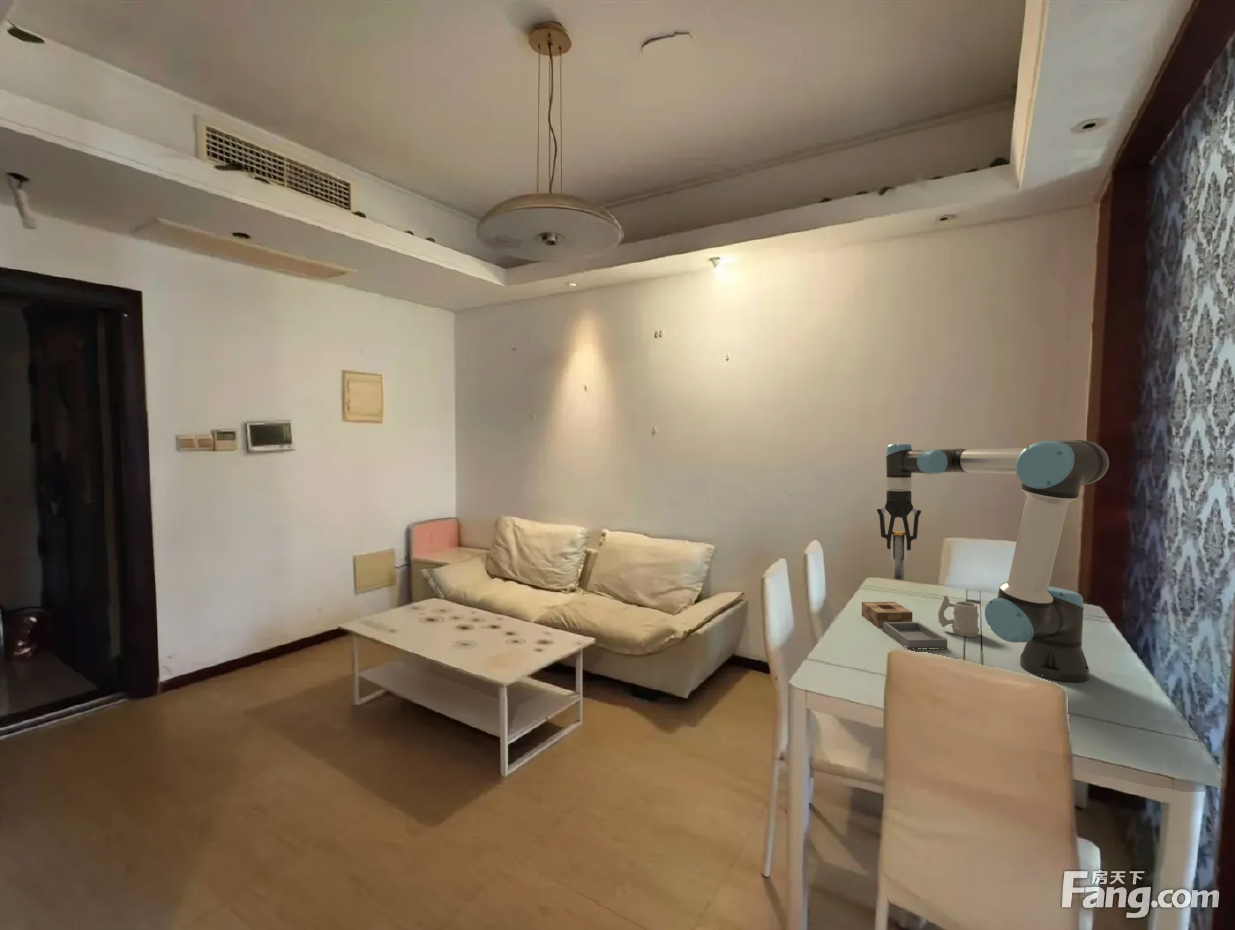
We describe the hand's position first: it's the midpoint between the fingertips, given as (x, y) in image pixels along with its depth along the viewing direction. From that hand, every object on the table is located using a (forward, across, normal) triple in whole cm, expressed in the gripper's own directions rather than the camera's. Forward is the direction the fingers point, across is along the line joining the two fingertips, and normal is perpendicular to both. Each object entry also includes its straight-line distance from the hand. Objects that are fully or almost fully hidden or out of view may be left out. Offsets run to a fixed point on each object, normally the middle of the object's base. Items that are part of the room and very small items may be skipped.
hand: (898, 559), depth 187 cm
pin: (+7, 0, 0) cm, 7 cm away
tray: (+24, -5, +9) cm, 26 cm away
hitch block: (+24, +4, -7) cm, 25 cm away
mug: (+24, -17, -6) cm, 30 cm away
